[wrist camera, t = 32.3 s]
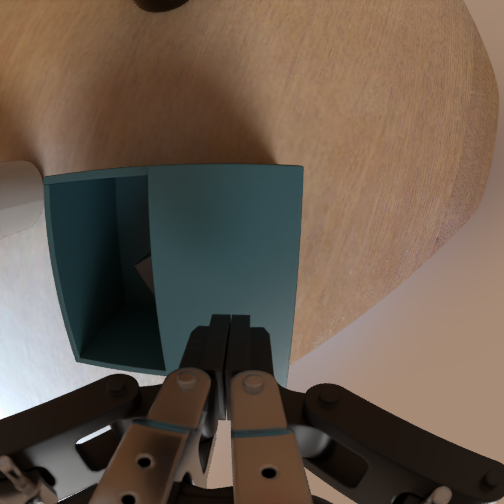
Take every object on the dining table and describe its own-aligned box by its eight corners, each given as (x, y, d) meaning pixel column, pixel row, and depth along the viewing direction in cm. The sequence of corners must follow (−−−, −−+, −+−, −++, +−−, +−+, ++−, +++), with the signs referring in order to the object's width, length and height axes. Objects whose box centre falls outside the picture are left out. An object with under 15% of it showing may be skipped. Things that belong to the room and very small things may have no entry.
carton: (279, 168, 24) (301, 165, 14) (273, 308, 27) (285, 380, 17) (113, 171, 23) (42, 176, 13) (124, 302, 27) (75, 361, 17)
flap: (302, 166, 13) (303, 166, 13) (285, 384, 17) (286, 389, 16) (151, 166, 13) (147, 165, 13) (169, 379, 17) (168, 384, 16)
